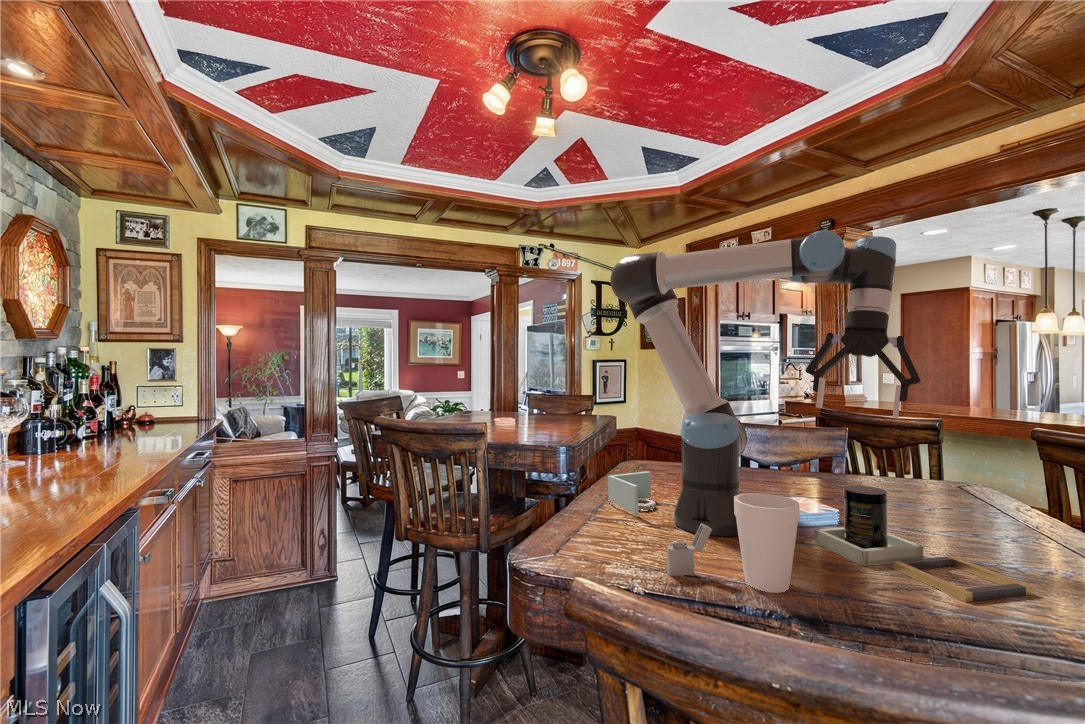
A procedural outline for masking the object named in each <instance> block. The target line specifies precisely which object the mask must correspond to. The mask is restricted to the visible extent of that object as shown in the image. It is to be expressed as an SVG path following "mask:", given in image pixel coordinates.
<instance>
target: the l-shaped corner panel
mask: <svg viewBox="0 0 1085 724" xmlns="http://www.w3.org/2000/svg"><path fill="white" fill-rule="evenodd" d="M651 472H652V471H639V472H630V473H629V472H628V473H621V474H611V475H607V491H608V492H607V496H608V497H607V501H608V500H609V501H611V502H613V503H615V504H616V505H618V506H620V507H622V508H623V509H625V510H627V511H629V512H631V513H632V514H634V515H638V516H639V511H638V509H639V510H641V509H643V510H648V509H654V508H653V507H655V508H656V507H657V505H656V504H657V502H656V500H652V499H650V500H649V499H646V498H650V497H651V498H652V473H651ZM640 498H641V499H640ZM638 503H644V505H641V504H638ZM654 510H655V509H654Z"/></svg>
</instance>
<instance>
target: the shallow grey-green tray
mask: <svg viewBox="0 0 1085 724" xmlns="http://www.w3.org/2000/svg"><path fill="white" fill-rule="evenodd" d="M813 532H814V533H813V535H814V537H813V538H814V541H813V542H814V544H817V545H819V546H821V547H823V548H825V549H827V550H829V551H831V552H833V553H835V554H838V555H839V556H841V557H843V558H845V559H847V560H849V561H852V562H853V563H855V564H858V565H860V566H861V567H869V566H871V567H872V566H881V565H883V566H884V565H892V561H902V560H913V559H923V558H924V546H923V545H920V544H919V543H915V542H912V541H910V540H908V539H904V538H902V537H899V536H897V535H895V534H892V533H890V532H888V547H880V548H868V549H862V548H860V547H858V546H856V545H853V544H851V543H849V542H847V541H845V534H844V527H830V528H817V529H815V528H814V531H813Z"/></svg>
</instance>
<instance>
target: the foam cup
mask: <svg viewBox="0 0 1085 724" xmlns="http://www.w3.org/2000/svg"><path fill="white" fill-rule="evenodd" d="M800 509H801V508H800V503H799V502H798V501H797V500H796V499H793V498H791V497H789V496H783V495H779V494H772V493H764V492H763V493H761V492H746V493H740V494H739V495H736V496H734V515H736V521H737V528H738V535H737V536H738V540H739V547H740V556H741V561H742V568H743V575H744V576H743V577H744V579H745V581H744V582H745V583H746V582H747V583H746V584H747V586H749V585H750V586H751V587H750V586H749V587H750V588H752V587H753V588H752V589H754V588H755V590H757V589H758V590H757V591H760V590H761V592H764V591H765V593H775V594H776V593H777V594H780V593H785V591H786V590H787V591H788V590H790V584H791V577H792V572H793V563H794V554H795V548H796V540H797V532H798V524H799V522H800V520H801V519H800V517H801V516H800V514H801V513H800V512H801V511H800ZM787 591H786V592H787Z"/></svg>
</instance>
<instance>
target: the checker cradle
mask: <svg viewBox="0 0 1085 724" xmlns="http://www.w3.org/2000/svg"><path fill="white" fill-rule="evenodd" d="M891 565H892V567H891V568H892V569H893V570H894V571H897V572H899V573H901V574H903V575H906V576H909V578H912V579H914V580H916V581H919V582H921V583H923V584H925V583H926V584H925V585H927V584H928V585H927V586H929V585H930V587H932V586H933V587H932V588H934V587H935V588H934V589H936V588H937V589H936V590H938V589H939V590H938V591H940V590H941V592H942V591H943V593H945V594H947V595H948V596H949V595H950V596H951V597H954V598H956V599H958V600H960V601H962V602H964V603H969V602H970V601H971V602H977V600H980V601H988V599H989V600H997V598H998V599H1004V598H1015V597H1023V596H1031V595H1034V587H1033V585H1030V584H1027V583H1025V582H1022V581H1019V580H1017V579H1014V578H1011V577H1010V576H1007V575H1004V574H1001V573H999V572H997V571H993V570H990V569H988V568H986V567H983V566H980V565H979V564H978V565H977V564H975V563H973V562H969V561H966V560H964V559H961V558H959V557H956V556H953V555H947V556H937V557H927V558H926V557H923V559H913V560H902V561H892V564H891ZM949 567H954V568H957V569H959V570H961V571H964V572H967V573H969V574H972V575H975V576H976V577H979V578H982V579H984V580H987V581H990V582H992V583H995V584H997V585H990V586H981V587H980V586H979V587H972V588H971V587H970V588H962V587H960V586H958V585H956V584H953V583H952V582H951V583H950V582H948V581H946V580H944V579H942V578H939V577H937V576H934V575H933V574H930V573H927V572H925V571H923V570H929V569H940V568H941V569H942V568H949Z"/></svg>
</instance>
